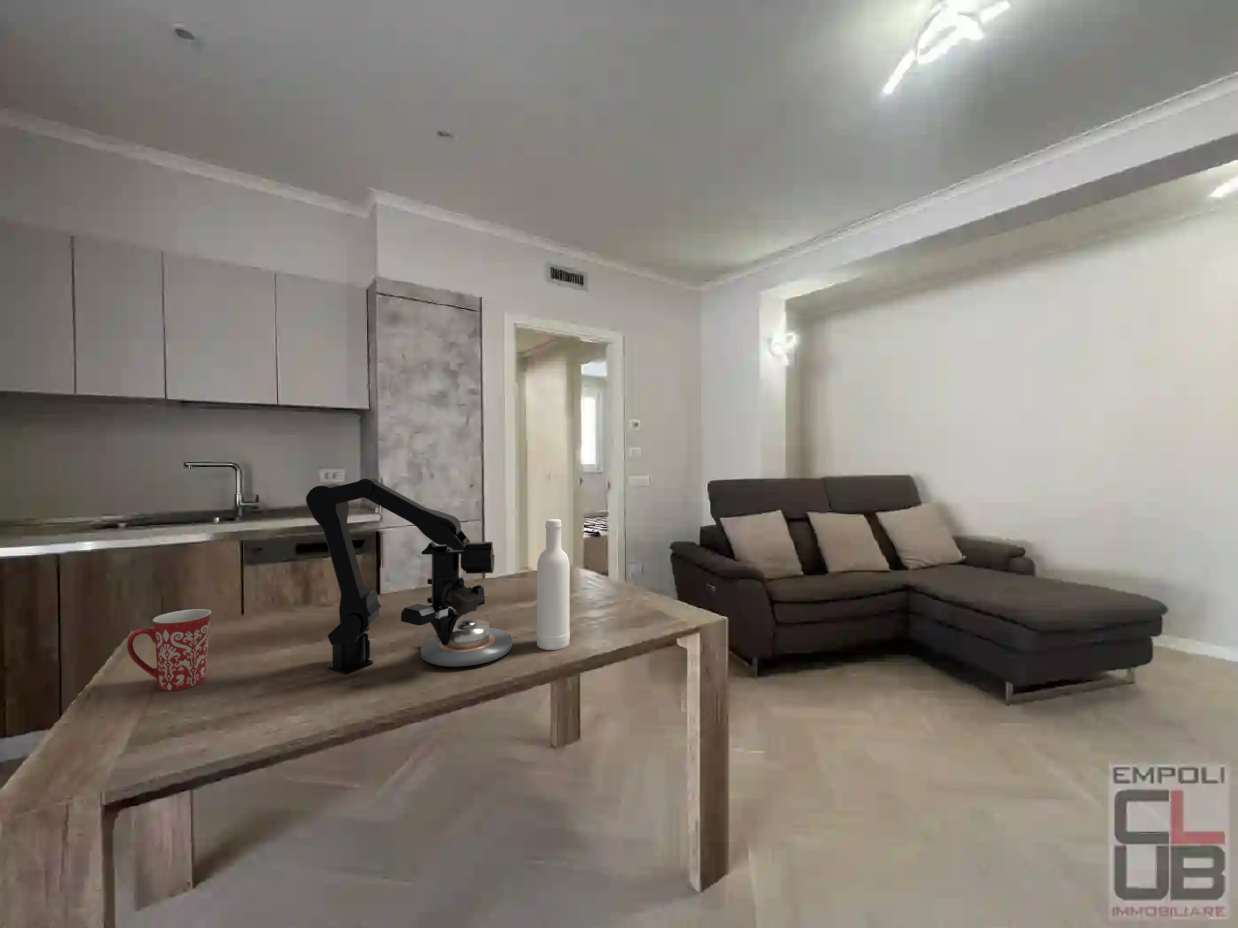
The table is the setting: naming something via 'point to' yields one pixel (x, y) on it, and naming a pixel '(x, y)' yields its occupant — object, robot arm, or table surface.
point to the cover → (469, 634)
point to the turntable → (450, 657)
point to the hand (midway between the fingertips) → (445, 644)
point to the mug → (177, 648)
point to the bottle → (553, 591)
